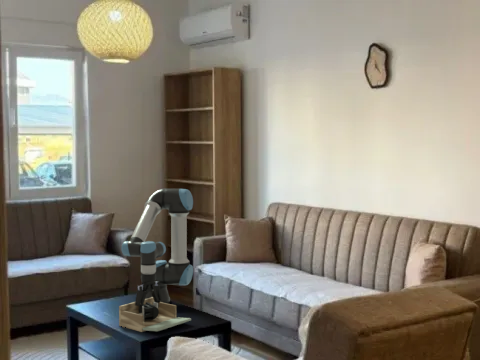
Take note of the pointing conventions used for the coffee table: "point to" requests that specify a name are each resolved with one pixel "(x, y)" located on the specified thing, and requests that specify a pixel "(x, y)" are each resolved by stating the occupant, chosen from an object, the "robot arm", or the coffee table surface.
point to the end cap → (150, 311)
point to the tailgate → (166, 324)
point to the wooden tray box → (135, 321)
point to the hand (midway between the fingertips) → (148, 317)
